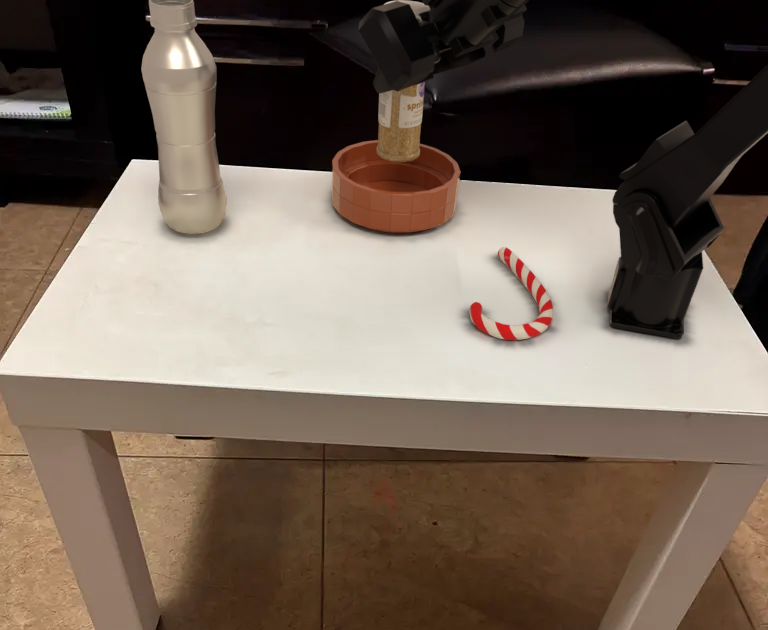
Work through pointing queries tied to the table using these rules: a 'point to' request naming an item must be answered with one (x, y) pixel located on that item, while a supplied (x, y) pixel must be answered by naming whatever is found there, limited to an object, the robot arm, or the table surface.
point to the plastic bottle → (184, 119)
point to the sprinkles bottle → (401, 115)
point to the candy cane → (536, 291)
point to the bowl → (394, 188)
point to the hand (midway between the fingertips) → (391, 82)
